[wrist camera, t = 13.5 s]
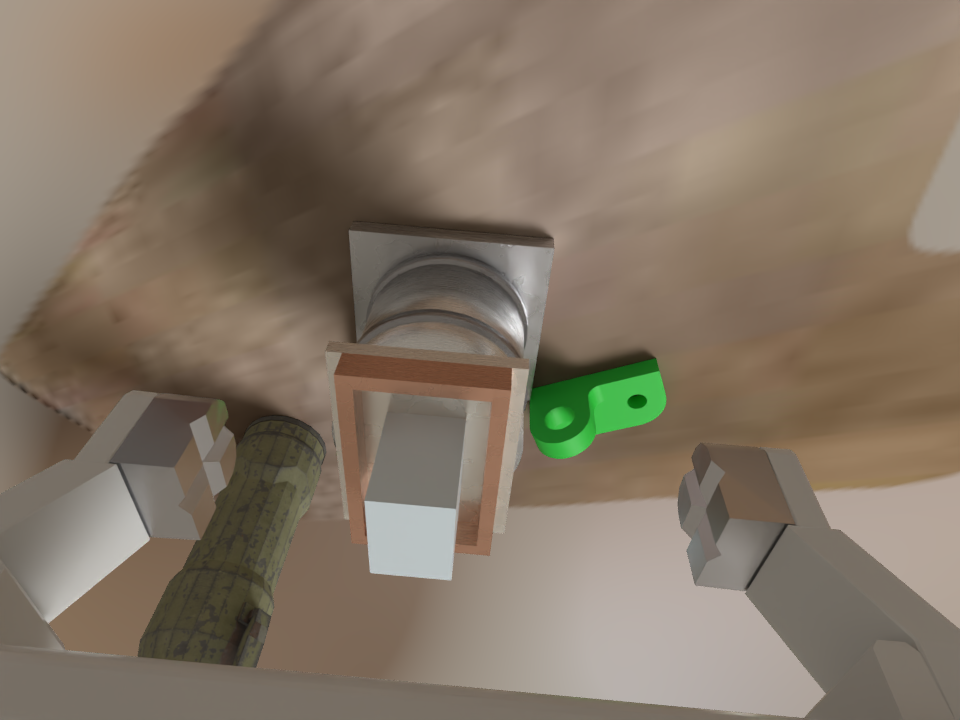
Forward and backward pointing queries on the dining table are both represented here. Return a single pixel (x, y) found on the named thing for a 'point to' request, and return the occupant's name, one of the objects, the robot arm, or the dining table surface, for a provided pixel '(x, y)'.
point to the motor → (440, 357)
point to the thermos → (240, 551)
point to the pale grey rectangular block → (415, 496)
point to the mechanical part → (594, 407)
